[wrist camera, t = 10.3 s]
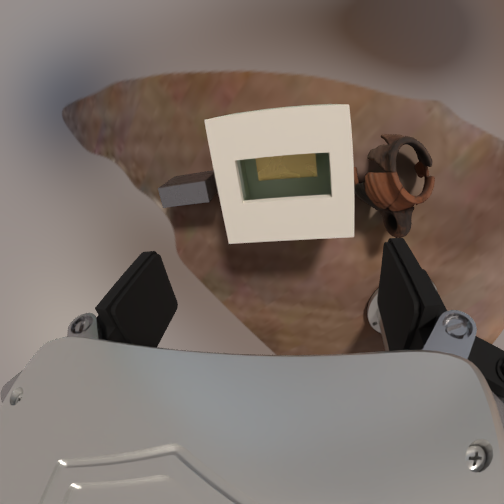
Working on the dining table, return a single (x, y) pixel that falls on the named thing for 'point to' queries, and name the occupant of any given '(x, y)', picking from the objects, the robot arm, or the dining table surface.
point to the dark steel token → (188, 189)
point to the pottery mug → (394, 184)
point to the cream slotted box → (291, 189)
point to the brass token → (286, 166)
